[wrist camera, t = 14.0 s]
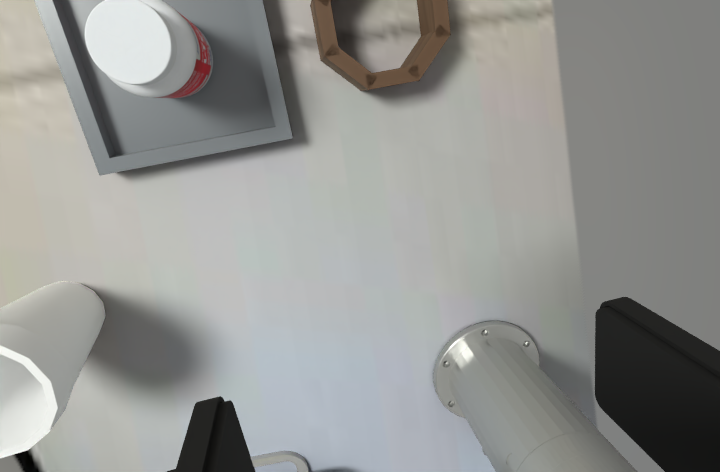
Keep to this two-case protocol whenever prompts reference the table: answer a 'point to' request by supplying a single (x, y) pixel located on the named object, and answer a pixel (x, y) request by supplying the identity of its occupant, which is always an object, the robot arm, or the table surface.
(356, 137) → the table surface
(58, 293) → the foam cup
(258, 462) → the network device
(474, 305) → the table surface
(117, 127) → the tray
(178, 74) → the pill bottle
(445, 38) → the holder ring
